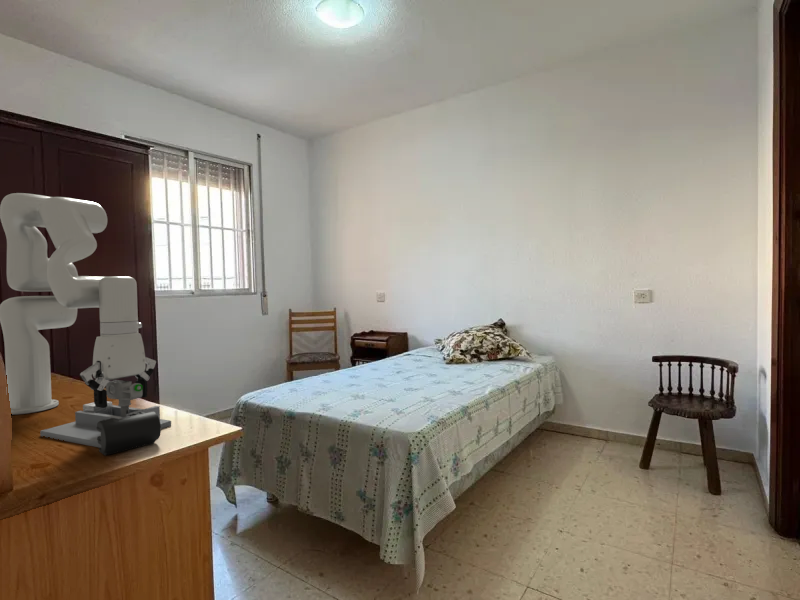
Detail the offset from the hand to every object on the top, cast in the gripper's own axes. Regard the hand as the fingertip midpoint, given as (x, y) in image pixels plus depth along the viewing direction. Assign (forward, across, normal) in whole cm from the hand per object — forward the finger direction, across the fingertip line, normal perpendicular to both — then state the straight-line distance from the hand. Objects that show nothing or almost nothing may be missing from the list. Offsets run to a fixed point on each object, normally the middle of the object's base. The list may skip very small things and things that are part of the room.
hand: (122, 401), depth 103 cm
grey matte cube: (+5, 0, -9) cm, 10 cm away
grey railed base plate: (+6, +2, -2) cm, 7 cm away
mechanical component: (+5, 0, +1) cm, 6 cm away
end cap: (+7, +8, +14) cm, 17 cm away
